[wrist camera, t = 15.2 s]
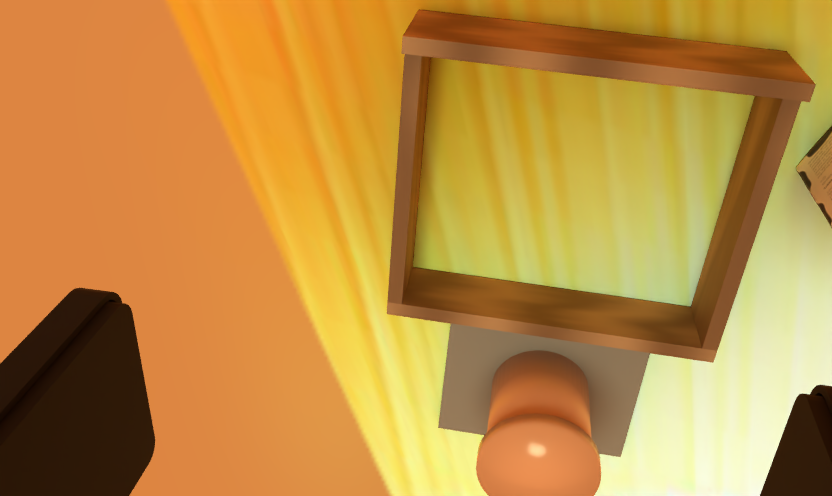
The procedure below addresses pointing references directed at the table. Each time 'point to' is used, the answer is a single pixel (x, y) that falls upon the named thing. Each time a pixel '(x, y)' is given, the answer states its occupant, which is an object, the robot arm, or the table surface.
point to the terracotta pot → (539, 430)
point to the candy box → (819, 173)
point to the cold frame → (617, 59)
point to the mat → (487, 349)
